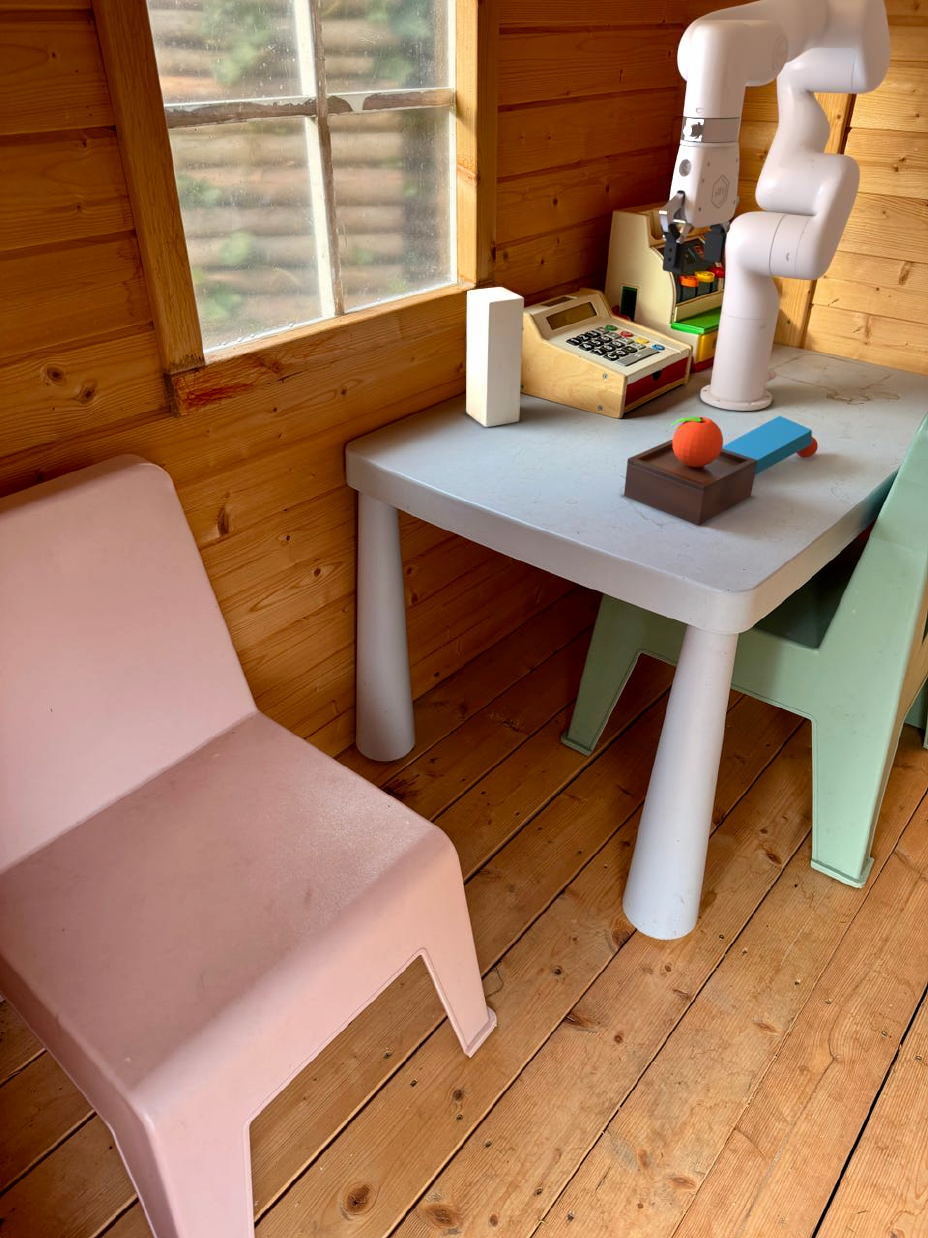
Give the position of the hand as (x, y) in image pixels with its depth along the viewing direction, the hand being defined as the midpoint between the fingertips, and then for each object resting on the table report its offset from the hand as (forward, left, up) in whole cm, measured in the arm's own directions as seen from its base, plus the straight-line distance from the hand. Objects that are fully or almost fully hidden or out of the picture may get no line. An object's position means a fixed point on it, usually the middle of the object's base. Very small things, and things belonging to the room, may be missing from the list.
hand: (692, 266), depth 131 cm
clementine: (+12, +12, -24) cm, 29 cm away
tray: (+12, +12, -28) cm, 33 cm away
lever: (-6, +14, -28) cm, 32 cm away
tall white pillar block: (+10, -30, -28) cm, 43 cm away
